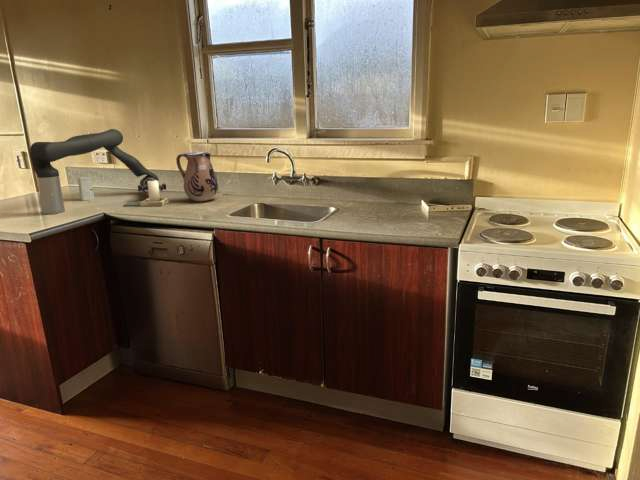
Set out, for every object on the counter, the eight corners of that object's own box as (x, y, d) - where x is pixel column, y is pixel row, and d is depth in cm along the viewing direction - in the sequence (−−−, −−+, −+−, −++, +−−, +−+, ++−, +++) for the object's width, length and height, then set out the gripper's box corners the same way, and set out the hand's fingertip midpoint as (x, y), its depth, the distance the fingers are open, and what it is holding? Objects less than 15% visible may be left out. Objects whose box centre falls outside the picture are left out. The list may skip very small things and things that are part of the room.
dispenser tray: (162, 206, 238) (161, 201, 237) (140, 206, 238) (140, 202, 238) (169, 202, 249) (168, 198, 248) (148, 202, 249) (148, 198, 248)
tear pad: (140, 206, 239) (140, 204, 239) (123, 206, 239) (123, 204, 239) (148, 202, 248) (147, 201, 248) (131, 202, 249) (130, 201, 248)
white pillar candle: (158, 205, 241) (155, 181, 238) (148, 205, 241) (145, 181, 238) (161, 203, 246) (159, 179, 243) (151, 203, 246) (149, 179, 243)
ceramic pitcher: (214, 203, 244) (210, 154, 237) (174, 203, 245) (169, 154, 238) (222, 197, 261) (218, 151, 254) (184, 197, 261) (179, 151, 255)
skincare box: (83, 200, 256) (79, 178, 253) (80, 199, 259) (76, 177, 256) (94, 199, 260) (91, 177, 257) (92, 198, 263) (88, 176, 260)
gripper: (136, 179, 258) (137, 183, 243) (163, 177, 263) (166, 181, 248) (138, 192, 260) (139, 197, 245) (165, 190, 265) (167, 195, 250)
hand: (152, 189), depth 247 cm, fingers open, 8 cm apart
